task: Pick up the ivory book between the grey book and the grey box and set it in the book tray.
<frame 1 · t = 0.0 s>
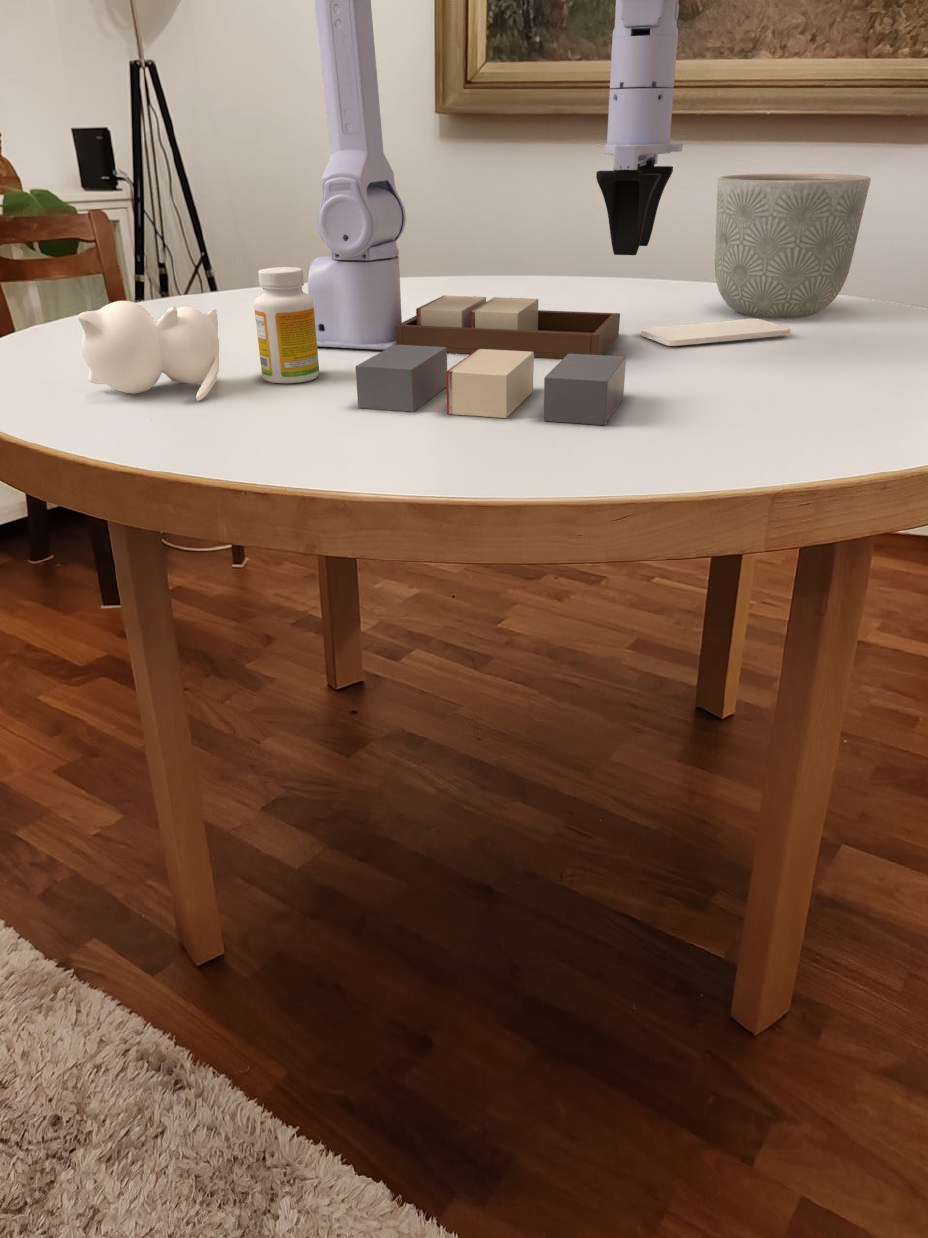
hand: (631, 249, 92), 10 cm above the table, tool pointing down, fingers open, 7 cm apart
planter: (774, 314, 117), on the table
ivory book: (492, 402, 81), on the table
ivory book 2: (505, 338, 103), resting on book tray
book tray: (510, 342, 103), on the table
smartphone: (714, 337, 104), on the table
grey box 2: (584, 408, 79), on the table
cat figurine: (161, 394, 86), on the table
ivory book 1: (453, 335, 105), resting on book tray
grey book 1: (404, 396, 83), on the table
supplement bottle: (291, 379, 90), on the table
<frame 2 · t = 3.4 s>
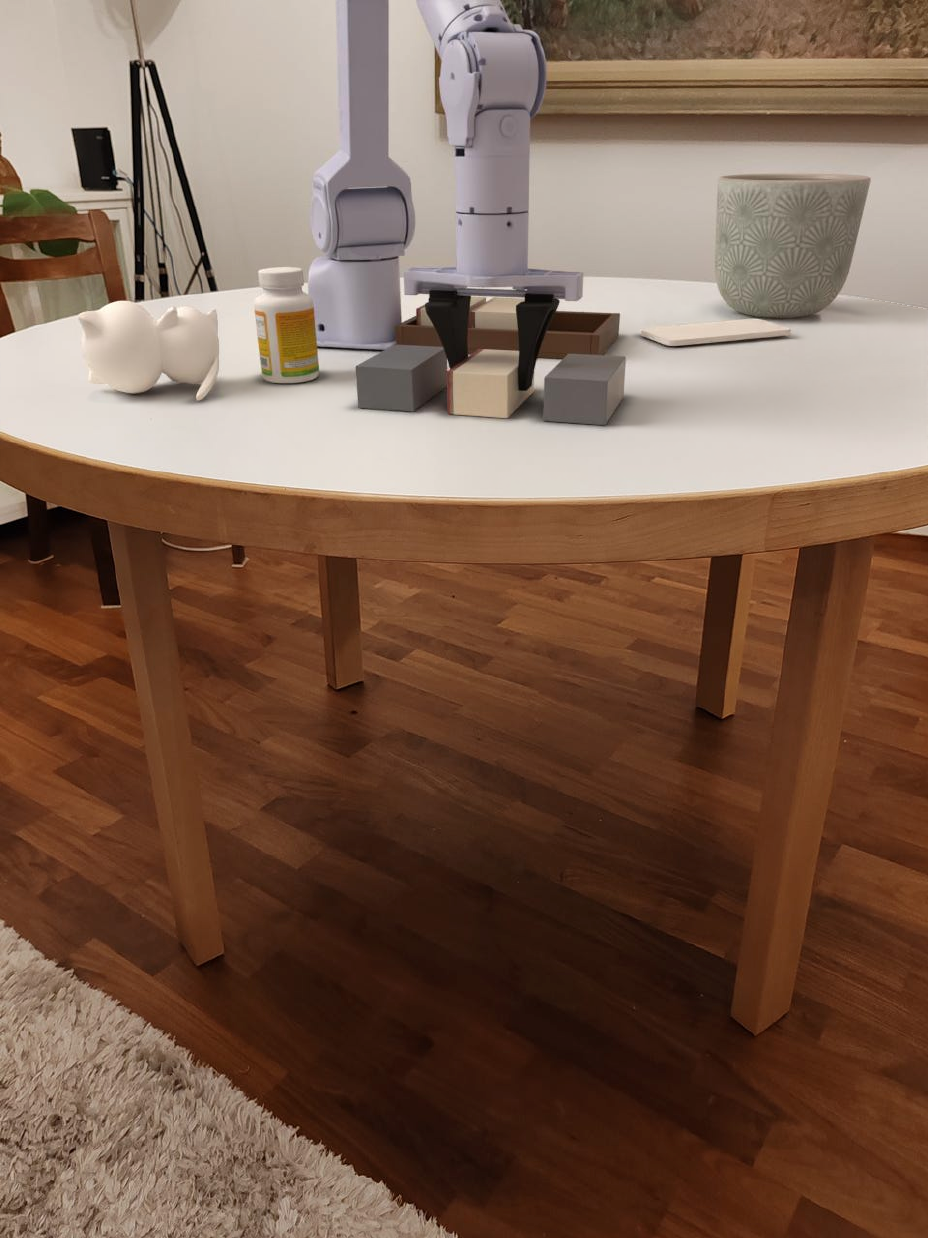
hand: (492, 386, 80), 1 cm above the table, tool pointing down, fingers closed on ivory book, 5 cm apart
ivory book: (493, 402, 81), on the table, touching gripper
everything else where it was.
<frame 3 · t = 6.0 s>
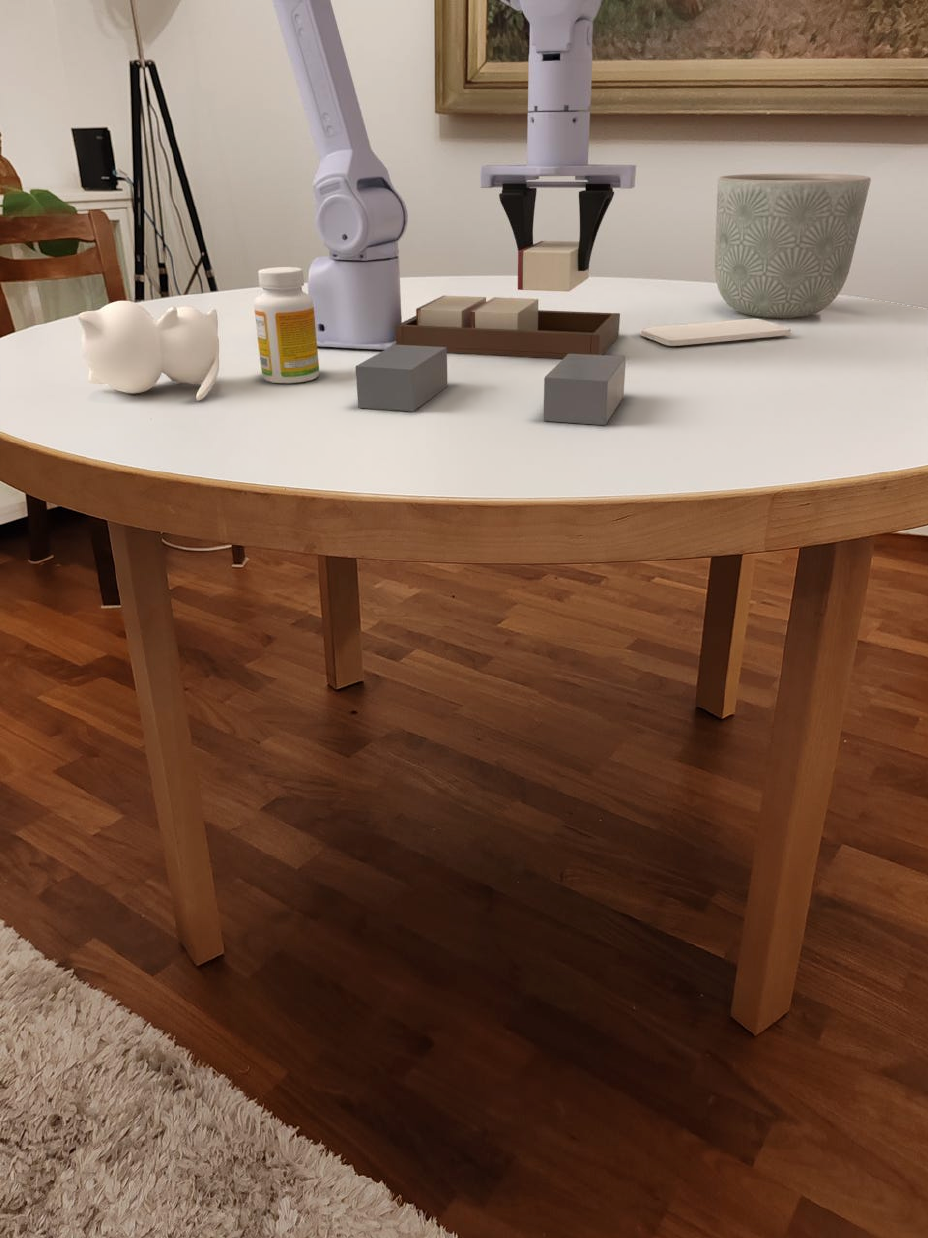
hand: (554, 268, 93), 8 cm above the table, tool pointing down, fingers closed on ivory book, 5 cm apart
ivory book: (554, 283, 94), point 7 cm above the table, touching gripper
everything else where it was.
when the fingers open (2 cm above the table, at t = 8.5 s): ivory book stays where it is, resting on book tray.
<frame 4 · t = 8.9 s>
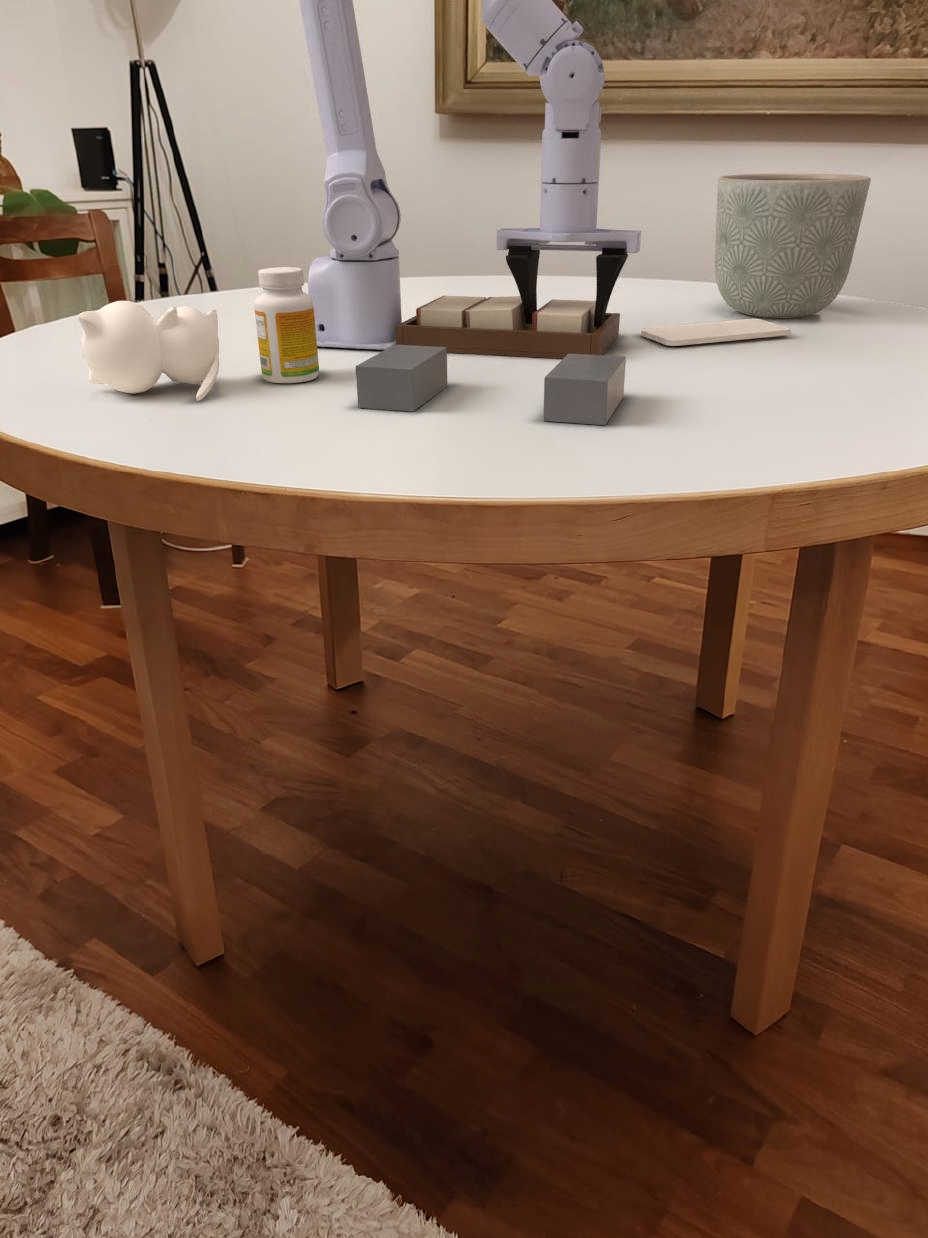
hand: (564, 323, 100), 2 cm above the table, tool pointing down, fingers open, 7 cm apart
ivory book: (565, 340, 101), resting on book tray
ivory book 2: (502, 336, 103), point 1 cm above the table, touching book tray, gripper
everything else where it was.
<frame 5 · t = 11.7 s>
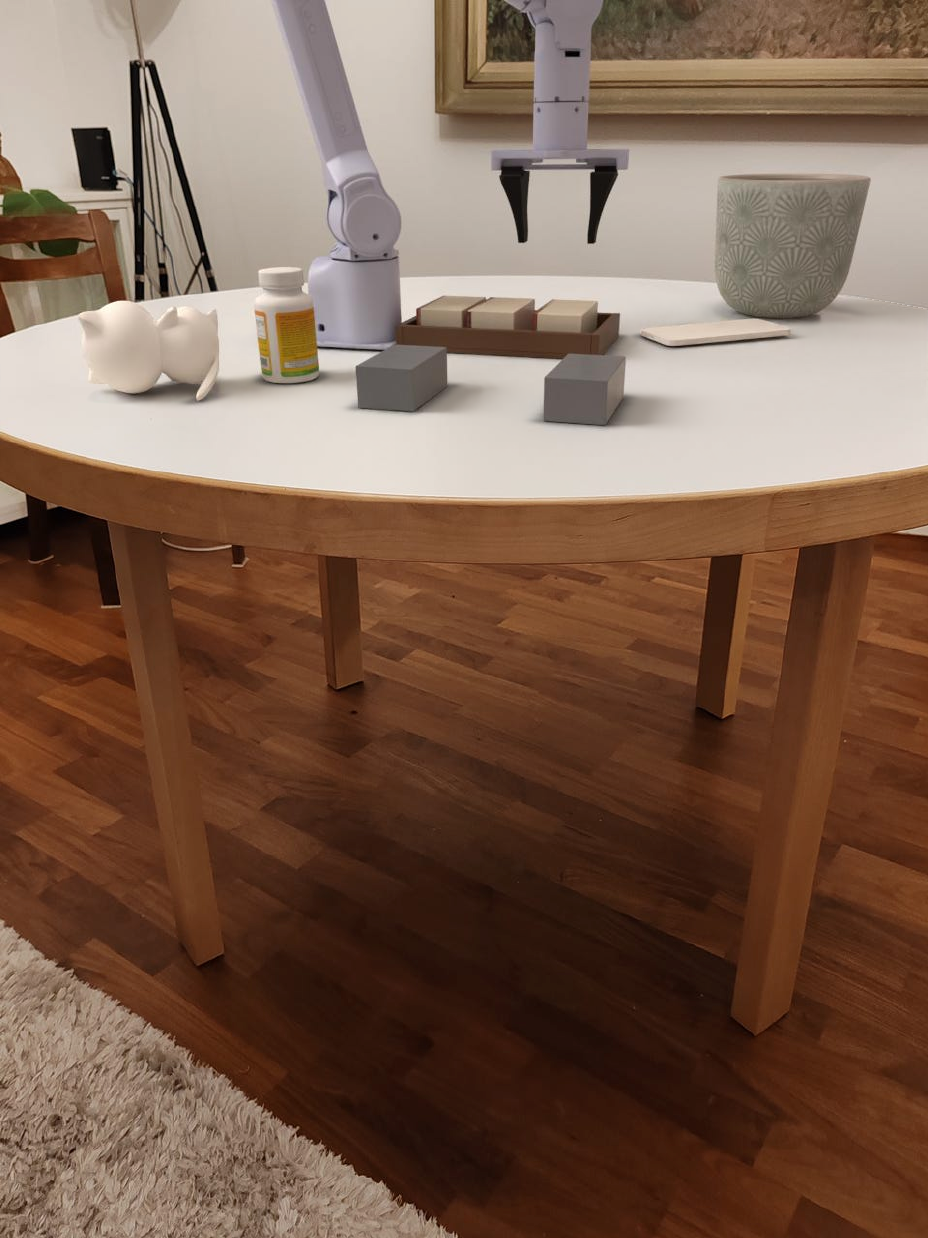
hand: (556, 242, 105), 9 cm above the table, tool pointing down, fingers open, 7 cm apart
ivory book 2: (502, 337, 103), resting on book tray
everything else where it was.
at the end: ivory book inside the target area in the book tray (0.1 cm from its centre), point 0.5 cm above the book tray's base; the gripper is holding nothing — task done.
